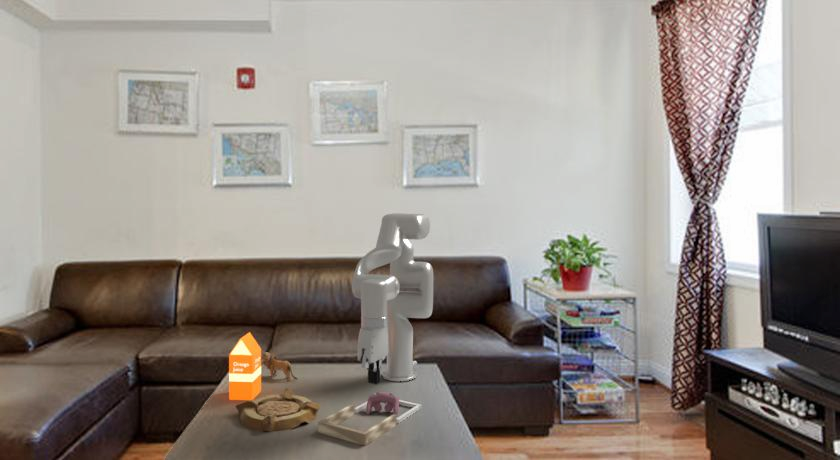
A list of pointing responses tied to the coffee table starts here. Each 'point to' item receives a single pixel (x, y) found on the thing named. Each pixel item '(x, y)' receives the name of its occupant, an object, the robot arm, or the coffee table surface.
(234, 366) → the orange juice
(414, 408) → the white bay
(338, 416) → the wooden u-shaped frame
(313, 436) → the coffee table surface
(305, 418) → the ashtray
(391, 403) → the video game controller
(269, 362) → the lion figurine
